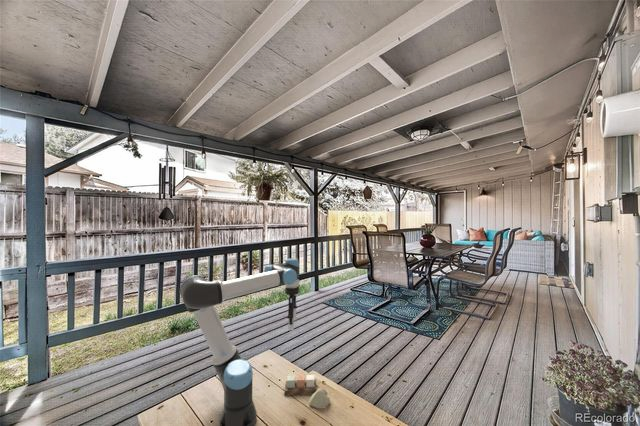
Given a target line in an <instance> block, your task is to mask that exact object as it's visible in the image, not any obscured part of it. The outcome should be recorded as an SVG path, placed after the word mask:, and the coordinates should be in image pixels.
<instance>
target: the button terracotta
mask: <svg viewBox="0 0 640 426" xmlns="http://www.w3.org/2000/svg"><path fill="white" fill-rule="evenodd" d="M296 380H297V388H305V380H306V376H305V374H300V375H299V374H297V375H296Z"/></svg>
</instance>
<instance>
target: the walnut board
mask: <svg viewBox="0 0 640 426" xmlns="http://www.w3.org/2000/svg"><path fill="white" fill-rule="evenodd" d="M306 380H307V379H305V387H299V388H297V379H295V388H287V380H285V386H284V392H283V393H284V396H293V395H295V396H297V395H313V394H314V393H315V392H316V391H317V379H314V387H307V381H306Z"/></svg>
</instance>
